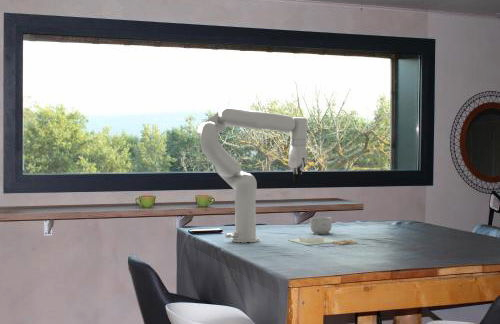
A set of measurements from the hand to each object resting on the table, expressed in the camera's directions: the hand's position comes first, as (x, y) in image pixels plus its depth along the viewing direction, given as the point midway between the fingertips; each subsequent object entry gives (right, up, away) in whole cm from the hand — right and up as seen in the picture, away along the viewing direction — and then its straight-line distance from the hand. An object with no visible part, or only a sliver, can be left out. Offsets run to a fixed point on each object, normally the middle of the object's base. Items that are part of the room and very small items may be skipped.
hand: (297, 182), depth 316 cm
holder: (+20, -27, -14) cm, 37 cm away
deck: (+4, -25, -7) cm, 27 cm away
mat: (+7, -27, -7) cm, 29 cm away
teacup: (+14, -26, +21) cm, 36 cm away
